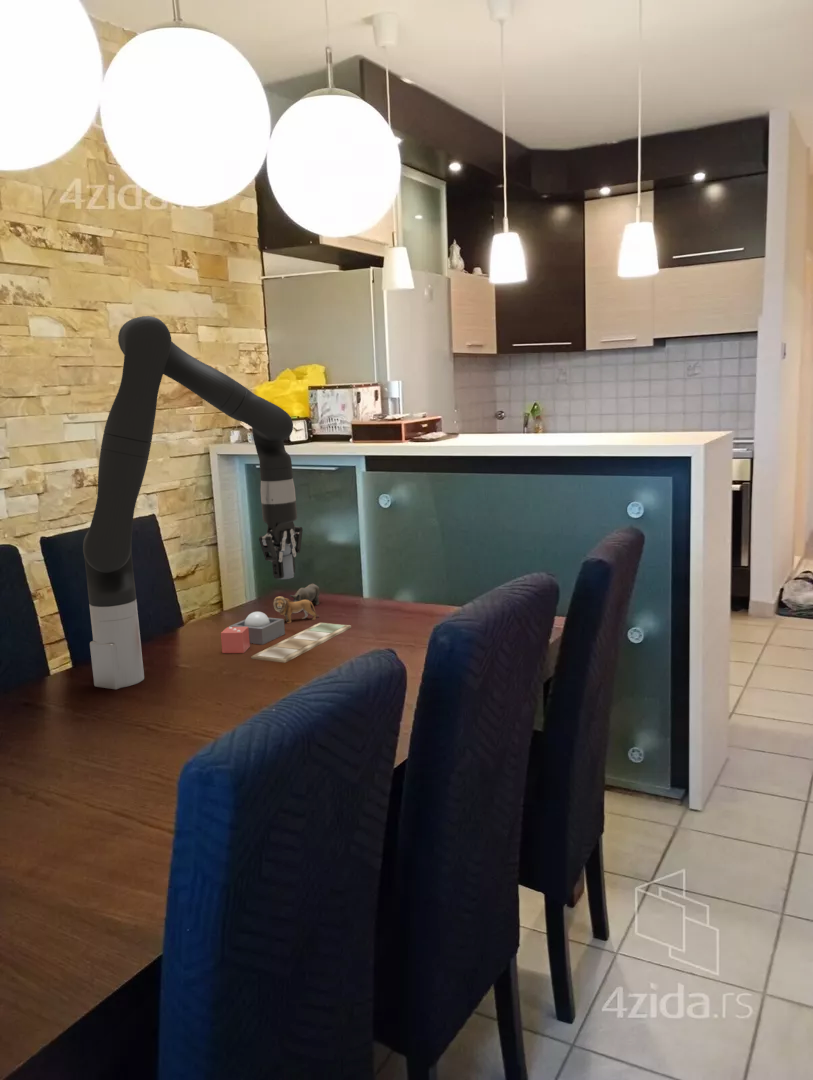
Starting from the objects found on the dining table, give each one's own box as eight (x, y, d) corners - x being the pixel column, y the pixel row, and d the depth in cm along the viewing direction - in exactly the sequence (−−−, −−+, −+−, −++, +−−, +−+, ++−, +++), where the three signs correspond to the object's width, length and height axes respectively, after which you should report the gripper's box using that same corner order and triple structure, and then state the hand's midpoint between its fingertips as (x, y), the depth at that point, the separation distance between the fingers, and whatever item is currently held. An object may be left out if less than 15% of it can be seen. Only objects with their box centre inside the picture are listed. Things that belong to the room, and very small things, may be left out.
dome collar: (262, 645, 203) (261, 629, 202) (231, 642, 207) (229, 625, 206) (285, 634, 211) (283, 619, 210) (254, 631, 215) (252, 616, 214)
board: (285, 663, 188) (285, 659, 188) (251, 659, 192) (251, 655, 192) (351, 628, 214) (351, 625, 214) (320, 625, 218) (319, 622, 218)
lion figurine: (277, 627, 218) (275, 599, 217) (272, 623, 222) (270, 595, 221) (321, 619, 224) (320, 592, 223) (315, 616, 228) (313, 588, 226)
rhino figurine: (284, 614, 231) (282, 592, 230) (311, 602, 243) (310, 581, 242) (297, 615, 229) (295, 593, 228) (324, 603, 241) (322, 582, 240)
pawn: (287, 579, 191) (284, 544, 190) (272, 578, 193) (269, 543, 192) (297, 575, 195) (294, 540, 193) (282, 574, 197) (279, 540, 195)
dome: (261, 640, 205) (259, 616, 204) (240, 638, 207) (238, 614, 206) (275, 633, 210) (273, 609, 209) (255, 631, 213) (253, 608, 212)
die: (243, 654, 197) (242, 631, 196) (222, 654, 197) (220, 631, 196) (250, 647, 202) (248, 625, 201) (229, 647, 202) (227, 625, 201)
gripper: (273, 505, 183) (280, 584, 186) (310, 495, 195) (316, 570, 199) (245, 504, 186) (252, 582, 189) (283, 495, 199) (289, 568, 202)
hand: (284, 575), depth 194 cm, fingers closed on pawn, 4 cm apart
